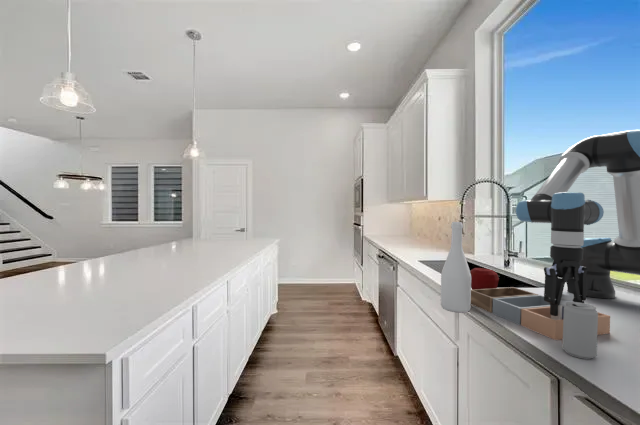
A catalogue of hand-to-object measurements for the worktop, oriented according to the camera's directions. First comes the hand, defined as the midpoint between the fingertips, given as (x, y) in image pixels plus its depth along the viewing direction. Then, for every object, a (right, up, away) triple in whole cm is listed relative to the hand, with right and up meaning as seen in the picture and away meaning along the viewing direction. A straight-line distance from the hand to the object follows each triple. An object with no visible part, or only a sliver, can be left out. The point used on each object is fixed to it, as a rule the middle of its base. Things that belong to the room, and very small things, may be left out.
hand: (564, 325), depth 93 cm
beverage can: (-8, -2, -16) cm, 18 cm away
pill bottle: (0, -1, 0) cm, 1 cm away
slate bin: (-3, -1, +11) cm, 11 cm away
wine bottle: (-24, -1, +17) cm, 30 cm away
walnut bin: (-6, -1, +21) cm, 22 cm away
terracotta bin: (0, -1, 0) cm, 1 cm away
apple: (-6, -1, +35) cm, 35 cm away
